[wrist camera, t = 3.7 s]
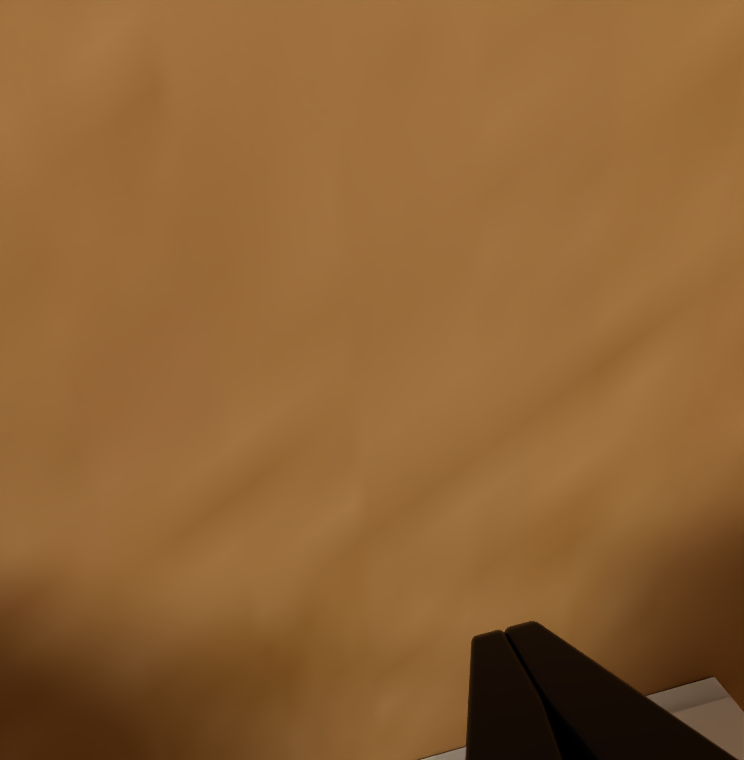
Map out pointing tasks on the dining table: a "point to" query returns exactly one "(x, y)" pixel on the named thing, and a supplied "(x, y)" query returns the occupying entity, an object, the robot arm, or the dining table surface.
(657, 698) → the box
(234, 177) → the dining table surface
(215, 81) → the dining table surface
